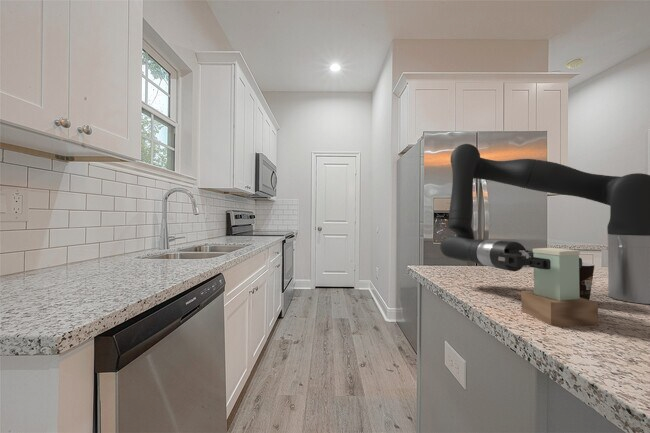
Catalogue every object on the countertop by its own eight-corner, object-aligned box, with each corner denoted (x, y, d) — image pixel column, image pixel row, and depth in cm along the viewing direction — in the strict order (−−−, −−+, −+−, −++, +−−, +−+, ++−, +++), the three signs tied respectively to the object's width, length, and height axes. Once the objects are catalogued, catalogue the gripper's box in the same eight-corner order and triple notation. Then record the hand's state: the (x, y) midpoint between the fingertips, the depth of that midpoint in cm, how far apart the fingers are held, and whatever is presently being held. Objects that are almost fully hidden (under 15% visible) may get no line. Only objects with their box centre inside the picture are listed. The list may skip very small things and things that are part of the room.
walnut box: (561, 312, 64) (561, 291, 64) (598, 328, 55) (597, 302, 55) (521, 312, 64) (521, 290, 64) (551, 327, 55) (550, 302, 55)
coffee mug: (576, 297, 75) (575, 260, 75) (605, 307, 67) (604, 266, 67) (531, 296, 76) (530, 260, 77) (553, 305, 68) (553, 265, 68)
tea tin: (552, 291, 63) (551, 247, 63) (580, 298, 57) (579, 250, 57) (533, 293, 62) (532, 248, 62) (560, 300, 56) (559, 251, 56)
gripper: (477, 241, 72) (538, 246, 56) (521, 240, 75) (590, 245, 59) (477, 269, 72) (538, 283, 56) (522, 267, 75) (591, 279, 59)
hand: (565, 263), depth 58 cm, fingers open, 8 cm apart
